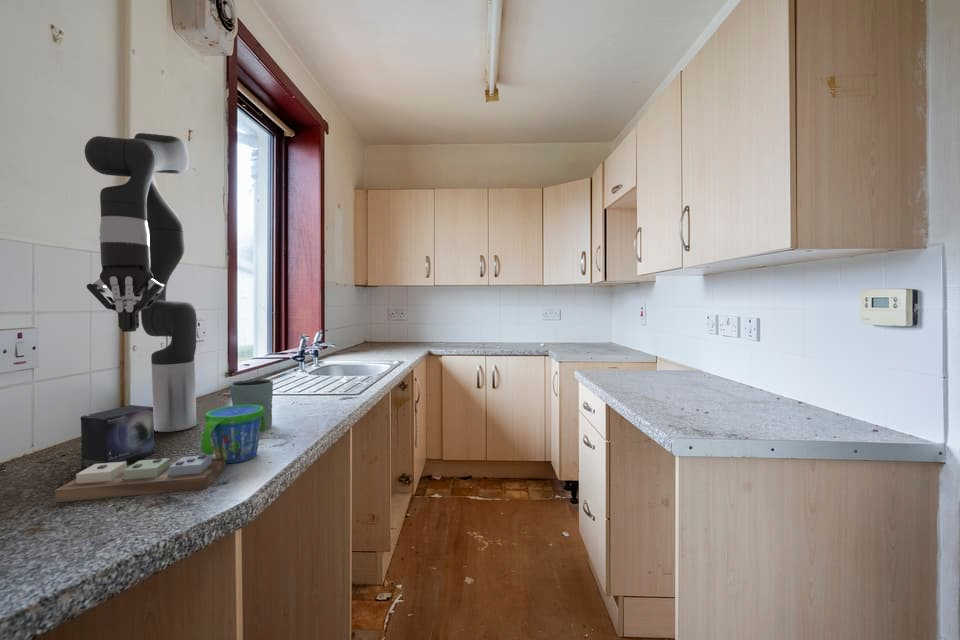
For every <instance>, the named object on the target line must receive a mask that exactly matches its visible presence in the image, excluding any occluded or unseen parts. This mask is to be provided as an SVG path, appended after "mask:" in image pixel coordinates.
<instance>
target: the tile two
mask: <svg viewBox="0 0 960 640" xmlns="http://www.w3.org/2000/svg"><path fill="white" fill-rule="evenodd" d="M170 462H171V457H170V458H168V457H167V458H166V457H165V458H156V459H155V458H154V459H143V460H138V461H136V462H135V463H133V464H130V465H131V466H130V467H128V468H127V469H125V470H124V480H129V479H141V478H153V477H159V476H160V475H161V474H162V473H164V472H165V471H166V470H168V469H169V467H170Z"/></svg>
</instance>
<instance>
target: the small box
mask: <svg viewBox="0 0 960 640" xmlns="http://www.w3.org/2000/svg"><path fill="white" fill-rule="evenodd" d="M80 429H81V430H80V433H81V436H80V437H81V438H80V439H81V442H80V443H81V444H80V445H81V466H80V467H81V469H87V468H88V467H90V466H92V465H94V464H101V463H114V462H127V464H128V463H130V462H133V461H136V460H139V459H141V458H145V457H147V456H151V455H153V453H154V454H155V433H154V432H155V431H154V417H153V406H146V405H145V406H143V405H137V404H136V405H134V404H130V405H126V406H121V407H117V408H112V409H108V410H103V411H99V412H95V413H91V414H89V413H88V414H85V415H81V416H80Z"/></svg>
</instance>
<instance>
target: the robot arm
mask: <svg viewBox="0 0 960 640" xmlns="http://www.w3.org/2000/svg"><path fill="white" fill-rule="evenodd" d="M84 157H85V159H86V161H87V163H88V165H89V166H90V167H91V168H92V169H93V170H94V171H96V172H97V173H99V174H102V175H104V176H105V175H106V176H115V177H126V178H129V179H128V181H127V182H125V183H123V184H119V185H111V186H106V187H103V188H102V189H101V190H100V193H99V194H100V195H99V202H100V203H99V204H100V223H99V225H100V226H99V237H98V238H99V243H100V244H99V247H100V264H101V268H102V270H101V272H100V274H99V278H98V280H96V281H95V282H93V283H87V285H86V289H87V290H88V291H89V292H90V293H91V294H92V295H93V296H94V297H95V298H96V299H97V300H98V301H99V303H101V305H102V306H103V307H104V308H105V309H107V310H112V311H114V312H117V317H118V319H117V320H118V329H120V330H121V332H123V333H125V332H126V333H132V332H136V331H137V329H139V327H140V320H141V325H142V328H143V330H144V332H145V333H146V334H147V335H148V336H151V337H171V338H170V342H169V344H168V345H167V346H166V347H164V348H161V349H159V350H156V351H154V352H152V353H151V358H150V359H151V360H150V361H151V386H152V387H151V388H152V407H153V423H154V430H155V431H154V432H157V431H158V433H167V432H168V433H169V432H170V433H171V432H177V431H183V430H187V429H191V428H194V427H196V425H198V424H197V395H196V371H195V367H196V366H195V355H196V350H197V327H198V326H197V321H198V320H197V312H196V309H195V307H194V305H193V304H192V303H191V302H189V301H185V300H167V286H168V282H169V280H170V277H171V276H172V275H173V272H175V269H176V268H177V266H178V265H179V263H180V261H181V260H182V258H183V256H184V254H185V249H186V244H185V230H184V229H185V228H184V225H183V223H182V220H181V219H180V217H179V215H177V213H176V212H175V211H174V209H173V208H172V207H171V206H170V204H169V203H168V202H167V200H166V199H165V198H164V196H163V195H162V193H161V192H160V189H159V188H158V185H157V183H156V179H155V173H156V174H157V173H159V174H160V173H161V174H171V175H172V174H173V175H177V174H184V173H185V172H186V171H187V170H188V168H189V162H190V161H189V158H190V157H189V151H188V148H187V146H186V144H185V142H184V141H183V140H182V139H181V138H179V137H177V136H174V135H173V136H172V135H167V134H166V135H164V134H155V133H147V132H146V133H145V132H139V133H137V134H135V136H134V138H121V137H113V136H110V137H109V136H102V135H96V136H93V137H91V138H90V139H88V141H87V143H86V144H85V145H84ZM107 289H109V291H110V292H111V293H112V295H111V294H110V293H109V292H108V291H107Z"/></svg>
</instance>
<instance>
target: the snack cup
mask: <svg viewBox="0 0 960 640" xmlns="http://www.w3.org/2000/svg"><path fill="white" fill-rule="evenodd" d="M204 418H205V422H206V423H205V425H204V429H203V432H202V437H201V442H200V449H201V452H202V453H203V454H204V455H212V454H214V459H217V458H225V464H235V463H237V464H238V463H241V462H245V461H249V459H252V458H253V457H255V456H257V453H258V448H259V441H260V433H264V432H265V431H266V430H267V429H266V422H265V417H264V409H263V407H262V406H260V405H234V406H233V405H227V406H224V407H223V406H222V407H218V408H215V409H212V410H210V411H207V412H206V414H205V415H204Z"/></svg>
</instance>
